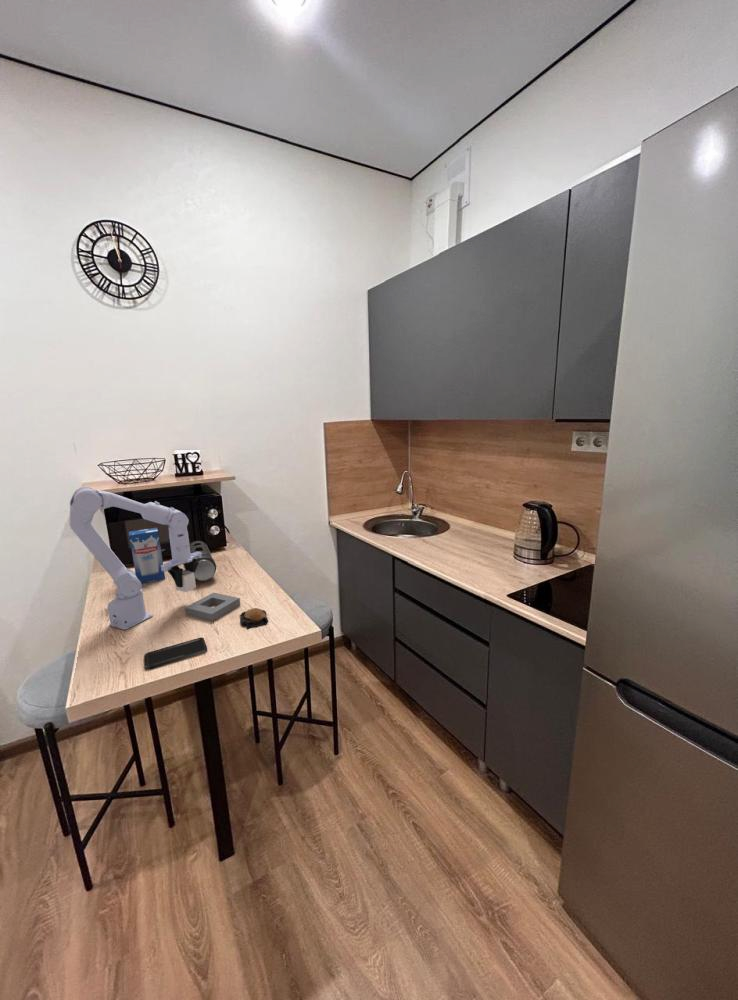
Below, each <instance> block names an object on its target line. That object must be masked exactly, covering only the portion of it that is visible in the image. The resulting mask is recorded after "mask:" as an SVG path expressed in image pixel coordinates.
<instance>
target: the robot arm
mask: <svg viewBox="0 0 738 1000" xmlns="http://www.w3.org/2000/svg"><path fill="white" fill-rule="evenodd" d="M111 507H114V508H119V509H122V510H126V511H129V512H134V513H138V514H140V515H141V518H142V519H143V520H146V521H150V522H152V523H156V524H159V525H163V526H166V525H167V527H168V539H169V544H170V551H171V558H172V559H170V560H169V561H167V562H166V563H163V565H161V570H162V571H164V573H166V572H168V574H169V575H170V576H171V577H172V579H173V582H174V584H175V583H176V586H177V587H182V586H183V582H182V572H183V570H189V572H194V576H195V571H196V568H197V566H198V564H199V562H198V561H197V560H196V559H197V558H201V557H202V555H201V552H197V551H196V552H194V553H190V545H189V544H190V539H189V531H188V525H189V522H190V521H189V518H188V516H187V515H186V514H185V513H184V512H182V511H181V510H178V509H176V508H174V507H172V506H170V507H168V506H165V505H162V504H160V502H158V501H157V500H155V501H154V502H152V501H149V502H147V503H142V502H139V501H136V500H133V499H130V498H128V497H125V496H122V495H119V494H116V493H115V492H114V493H113V492H109V491H106V490H102V489H96V490H95V489H94V488H92V487H87V486H83V487H79V488H77V489H76V490H75V491H74V492H73V494H72V496H71V498H70V501H69V520H68V522H69V528H70V529H71V530H72V532H73V533H74V534H75V535H76V536H77V537H78V539H79V540H80V541H81V542H82V543H83V544H84V546H85V547H86V548H87V549H88V551H89V552H90V554H92V555H93V556H94V558H95V559H96V561H97V562H98V563H99V564H100V565H101V567H102V568H103V569H104V570H105V571H106V573H108V575H109V576H110V578H111V579H112V581H113V583H114V586H115V587H116V589H117V591H116V593H115V597H114V598H113V599H112V600H111V601H109V602H108V604H107V612H108V616H109V617H108V618H109V624H108V625H109V626H110V627H114V628H118V629H120V630H126V631H127V630H128V629H130V628H132V627H134V626H136V625H138V624H139V623H142V622H143V621H146V620H148V619H150V618H152V617H153V614H151V613H147V611H146V604H145V599H144V592H143V588H142V585H143V584H141V582H140V580H139V579H138V578H137V577H136V573H135V571H133V570H131V569H128V568H127V567H126V566H125V564H124V563H122V561H121V560H120V558H119V557H118V556H117V555H116V554H115V552H114V551H113V550H112V549H111V547H110V546H109V545H108V544H107V542H106V541H105V540H104V538H103V537H102V536H101V535H100V533H99V532H98V531H97V530H96V528H94V526H93V525H92V521H93V519H94V516H95V514H96V513H97V512H98V510H99V509H100V508H102V509H108V508H111ZM182 565H183V566H184V568H180V566H182Z"/></svg>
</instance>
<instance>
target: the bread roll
mask: <svg viewBox="0 0 738 1000" xmlns="http://www.w3.org/2000/svg"><path fill="white" fill-rule="evenodd" d="M238 616H239V623H240V625H241V626H242V627H243V628H246V629H247V630H249V629H255V628H259V627H264V626H266V625H267V624H268V623H269V618H268V617H267V616H268V614H267V612H266V610H264V609H260V608H258V607H253V608H250V609H247V610H245V611H242V612H241V614H240V615H238Z"/></svg>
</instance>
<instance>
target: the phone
mask: <svg viewBox="0 0 738 1000" xmlns="http://www.w3.org/2000/svg"><path fill="white" fill-rule="evenodd" d="M207 652H208V646H207V644H206V641H205V638H204V637H198V638H195V639H193V638H192V639H191V640H186V641H183V642H180V643H176V644H172V645H169V646H167V647H162V648H159V649H154V650H152V651H148V652H146V653H145V654H143V658H144V659H143V663H144V668H145V669H144V670H146V671H149V670H154V669H156V668H160V667H163V666H166V665H170V664H172V663H177V662H179V661H183V660H186V659H190V658H193V657H197V656H199V655H202V654H206V653H207Z"/></svg>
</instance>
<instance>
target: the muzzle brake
mask: <svg viewBox="0 0 738 1000" xmlns="http://www.w3.org/2000/svg"><path fill="white" fill-rule="evenodd" d="M189 545H190V553H194V552H201V555H202V557H201V558H197V559H196V560H197V561H198V562H199V564H198V566H197V568H196V571H195V580H197V581H202V582H204V581H208V580H210V579H211V578H212V577H213V576H214V575H215V573H216V570H217V564H216V561H215V560H214V558H213V556H212V553H211V551H210V549H209V547H208V545H207V544H206V543H205V541H201V540H195V541H191V542H190V543H189ZM197 550H198V551H197Z"/></svg>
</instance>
